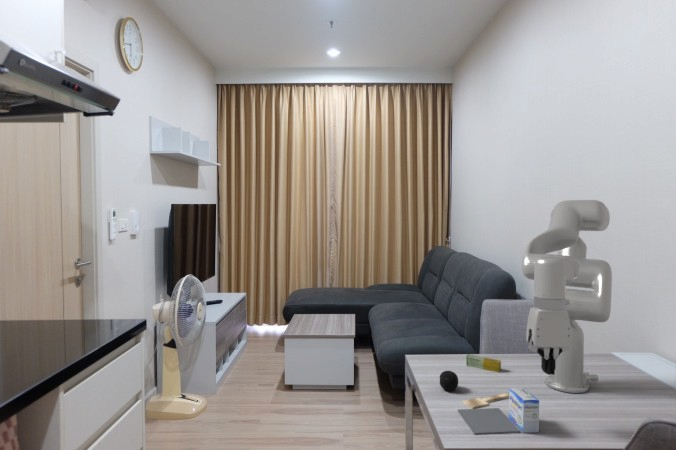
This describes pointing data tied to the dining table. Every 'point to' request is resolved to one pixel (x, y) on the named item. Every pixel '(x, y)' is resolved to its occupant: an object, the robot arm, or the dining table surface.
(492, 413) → the mat
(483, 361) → the medication box
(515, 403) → the medicine box
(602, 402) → the dining table surface
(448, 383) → the billiard ball
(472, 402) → the wooden turner
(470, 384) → the dining table surface
